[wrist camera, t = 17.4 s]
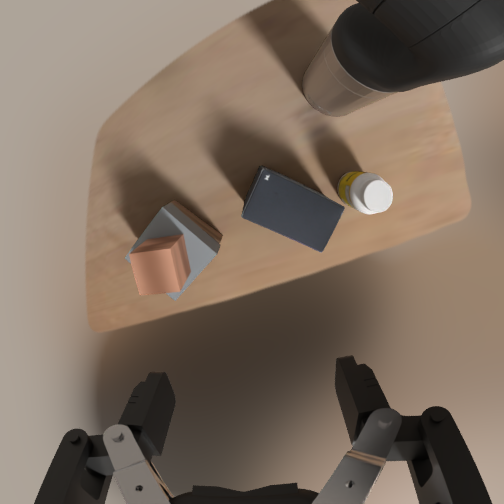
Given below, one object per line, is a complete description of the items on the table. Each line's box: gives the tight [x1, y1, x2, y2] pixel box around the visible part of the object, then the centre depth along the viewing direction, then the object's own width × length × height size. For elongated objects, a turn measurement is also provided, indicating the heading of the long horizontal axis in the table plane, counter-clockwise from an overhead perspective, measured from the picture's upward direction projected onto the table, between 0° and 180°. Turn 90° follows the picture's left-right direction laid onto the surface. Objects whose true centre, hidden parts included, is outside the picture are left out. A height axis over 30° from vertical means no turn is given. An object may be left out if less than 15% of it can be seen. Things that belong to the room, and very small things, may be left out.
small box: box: [241, 166, 345, 252], centre depth 37 cm, size 11×6×10 cm, turn 66°
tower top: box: [125, 203, 220, 301], centre depth 38 cm, size 9×9×4 cm
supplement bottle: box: [338, 171, 393, 214], centre depth 37 cm, size 5×5×10 cm
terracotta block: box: [129, 234, 191, 295], centre depth 34 cm, size 5×5×6 cm
